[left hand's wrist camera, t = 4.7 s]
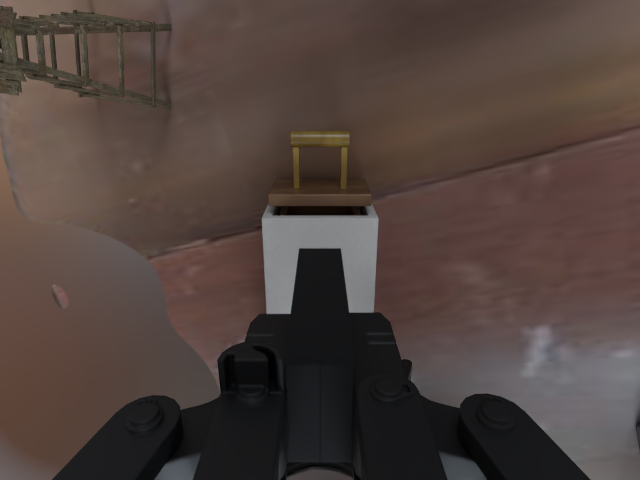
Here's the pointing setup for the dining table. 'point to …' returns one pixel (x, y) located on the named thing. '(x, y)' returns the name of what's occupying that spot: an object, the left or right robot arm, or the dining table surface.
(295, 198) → the drawer
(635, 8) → the dining table surface
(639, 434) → the handheld gaming console
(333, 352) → the left robot arm
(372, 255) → the cabinet
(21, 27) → the miniature windmill
